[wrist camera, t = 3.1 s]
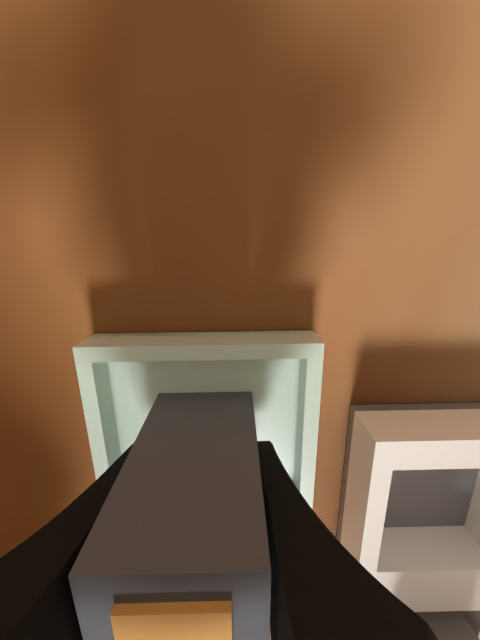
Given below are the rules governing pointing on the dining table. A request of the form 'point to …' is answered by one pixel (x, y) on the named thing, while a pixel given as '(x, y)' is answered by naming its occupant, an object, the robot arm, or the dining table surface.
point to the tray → (205, 387)
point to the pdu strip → (416, 502)
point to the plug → (181, 530)
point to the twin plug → (449, 625)
